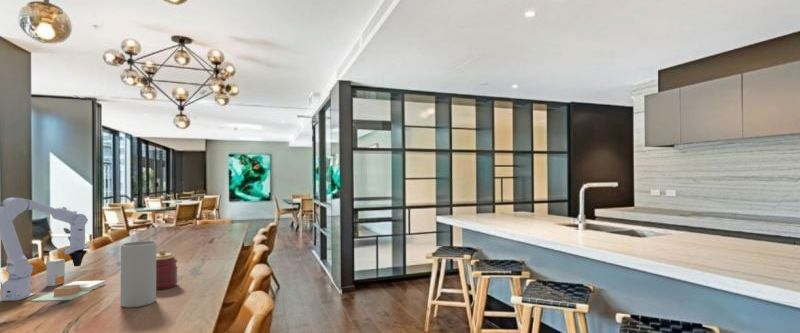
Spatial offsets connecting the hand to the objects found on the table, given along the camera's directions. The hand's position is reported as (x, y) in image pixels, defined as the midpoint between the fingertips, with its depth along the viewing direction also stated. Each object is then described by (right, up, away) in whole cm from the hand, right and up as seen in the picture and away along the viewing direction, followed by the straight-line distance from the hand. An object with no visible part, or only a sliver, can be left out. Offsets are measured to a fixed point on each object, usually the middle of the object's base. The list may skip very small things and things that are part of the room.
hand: (77, 266), depth 198 cm
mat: (+8, -9, -18) cm, 22 cm away
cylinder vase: (+49, -9, -29) cm, 57 cm away
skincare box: (-12, -10, +2) cm, 16 cm away
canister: (+43, -9, -3) cm, 45 cm away
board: (+7, -9, -6) cm, 13 cm away
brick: (+8, -9, -16) cm, 19 cm away
